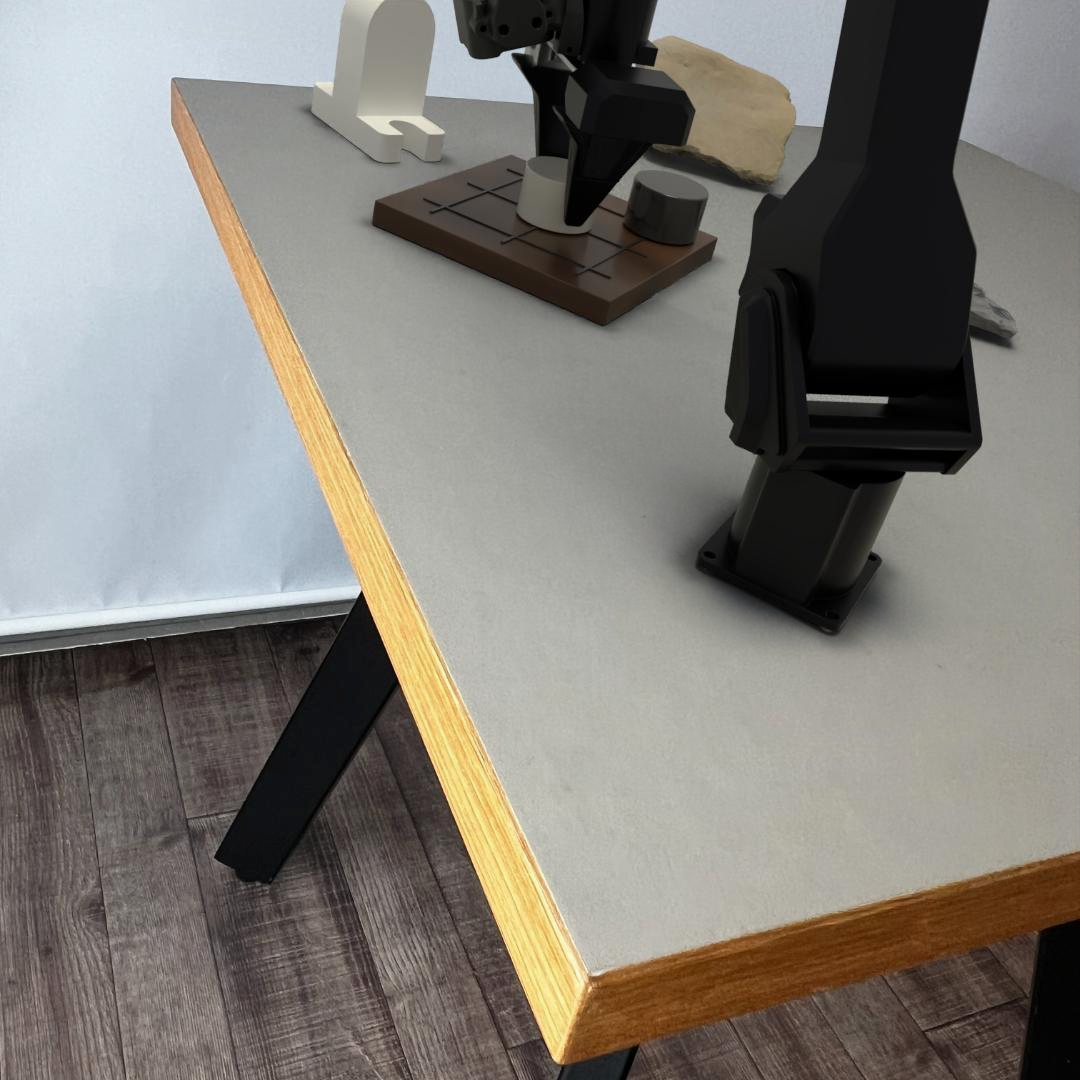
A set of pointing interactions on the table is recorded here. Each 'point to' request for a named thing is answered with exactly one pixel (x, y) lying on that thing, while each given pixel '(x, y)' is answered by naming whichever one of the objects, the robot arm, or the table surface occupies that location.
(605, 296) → the board
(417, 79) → the white slotted stand
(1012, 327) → the fossil rock
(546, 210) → the white stone
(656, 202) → the black stone
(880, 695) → the table surface
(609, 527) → the table surface
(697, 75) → the decorative stone
